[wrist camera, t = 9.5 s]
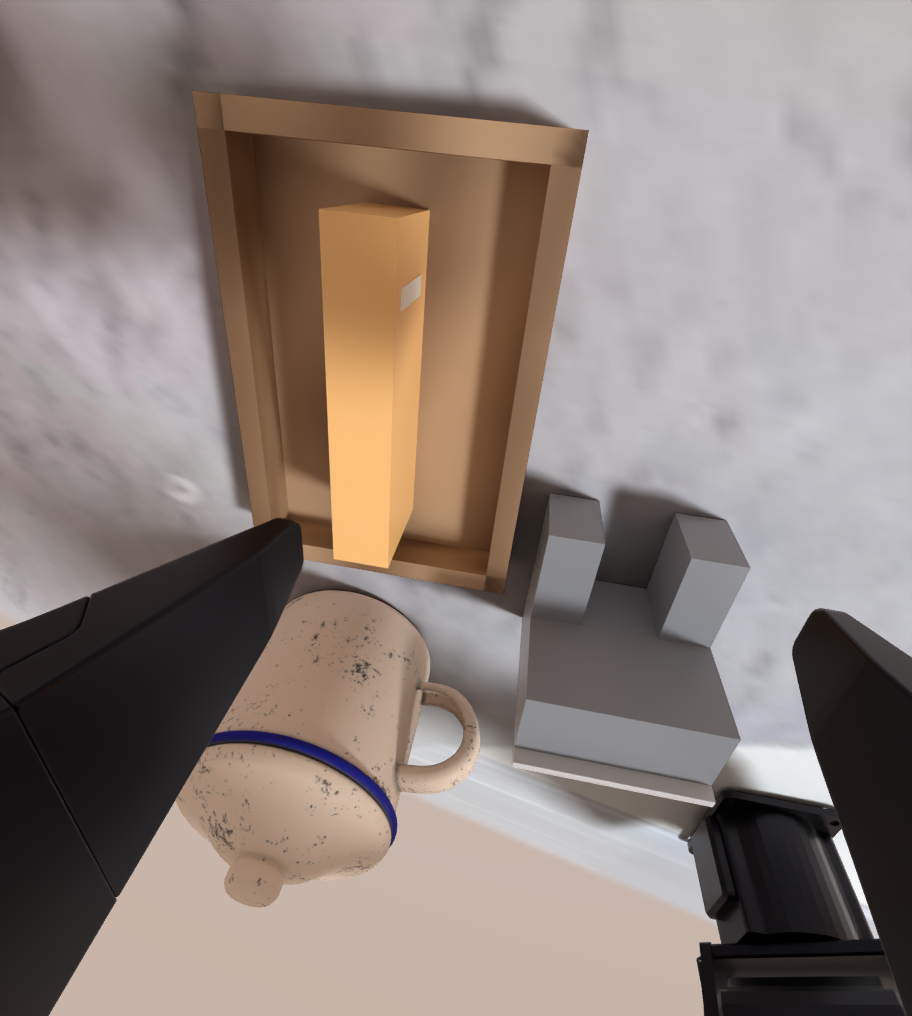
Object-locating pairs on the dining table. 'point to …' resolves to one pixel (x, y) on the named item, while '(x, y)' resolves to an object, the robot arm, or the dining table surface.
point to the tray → (447, 311)
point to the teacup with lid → (321, 748)
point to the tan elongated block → (372, 370)
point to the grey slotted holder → (627, 659)
